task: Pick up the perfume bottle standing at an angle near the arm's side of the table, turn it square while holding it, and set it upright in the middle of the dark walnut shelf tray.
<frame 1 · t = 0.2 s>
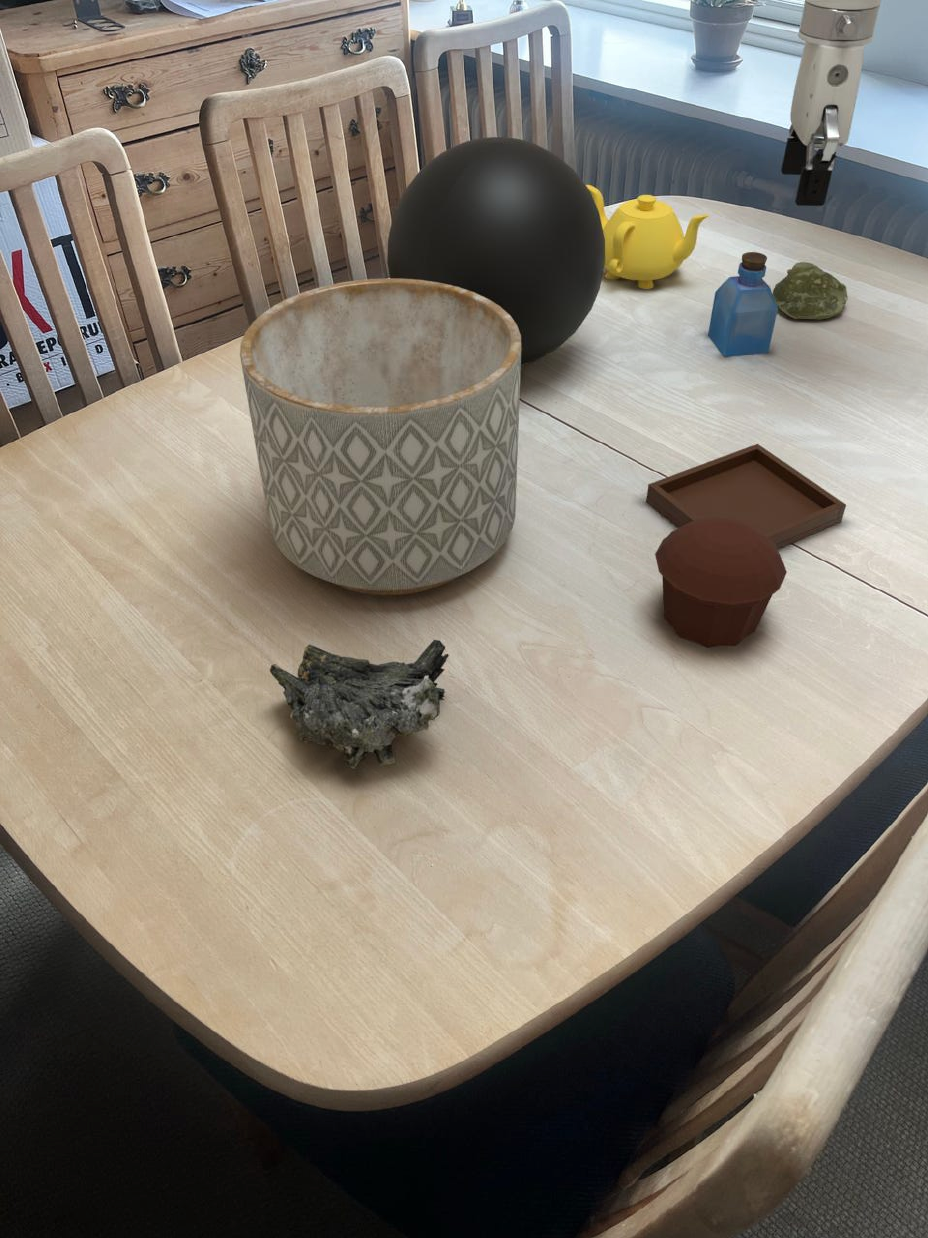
hand: (801, 188, 118), 22 cm above the table, tool pointing down, fingers open, 9 cm apart
muffin: (708, 617, 97), on the table
shelf tray: (742, 511, 109), on the table
ball: (494, 357, 135), on the table
planter: (394, 533, 107), on the table
teapot: (635, 277, 152), on the table
mineral specimen: (367, 719, 88), on the table
perfume bottle: (737, 344, 137), on the table
olive green rounded lump: (803, 305, 145), on the table
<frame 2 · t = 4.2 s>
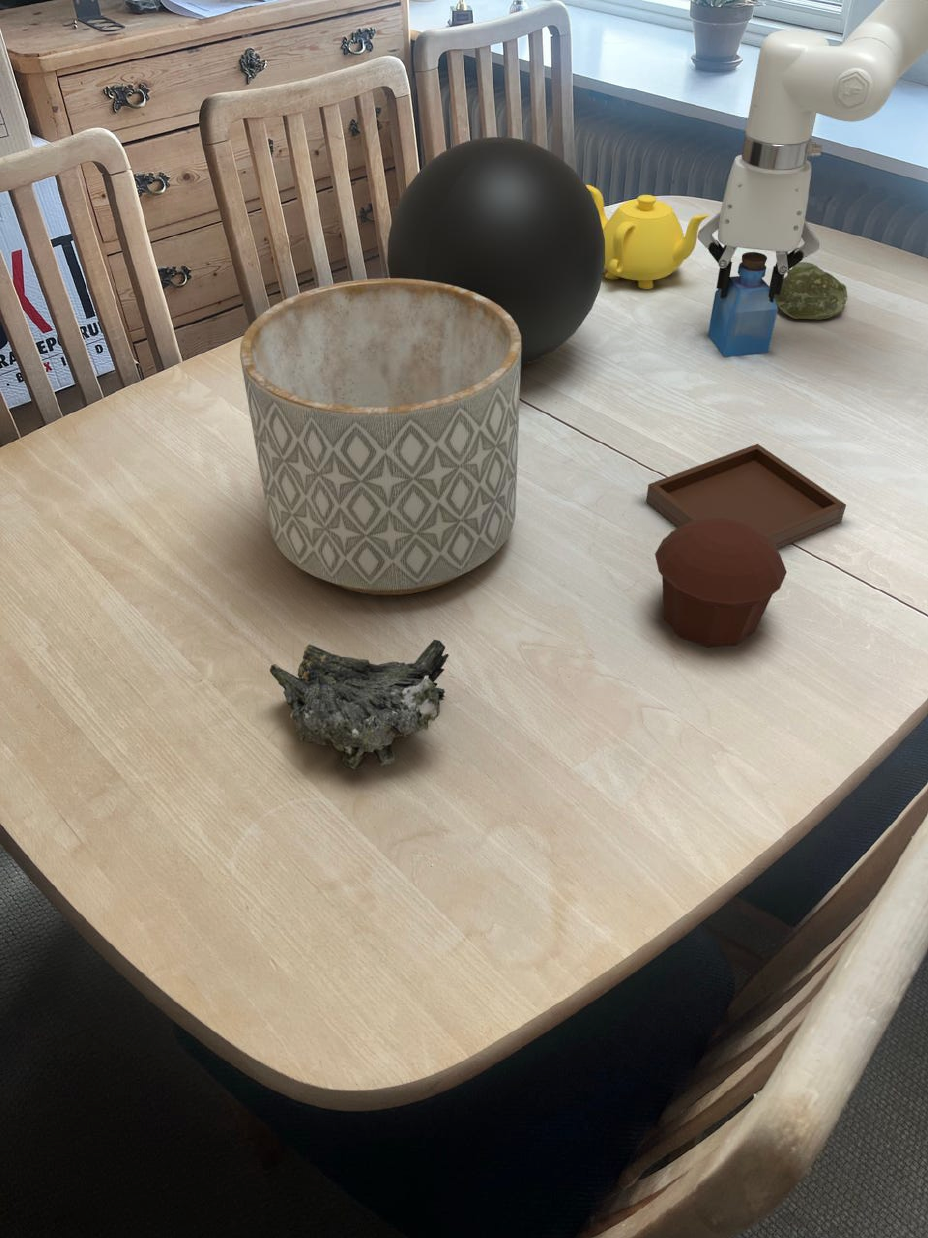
hand: (747, 294, 132), 7 cm above the table, tool pointing down, fingers closed on perfume bottle, 5 cm apart
perfume bottle: (737, 344, 137), on the table, touching gripper
everything else where it was.
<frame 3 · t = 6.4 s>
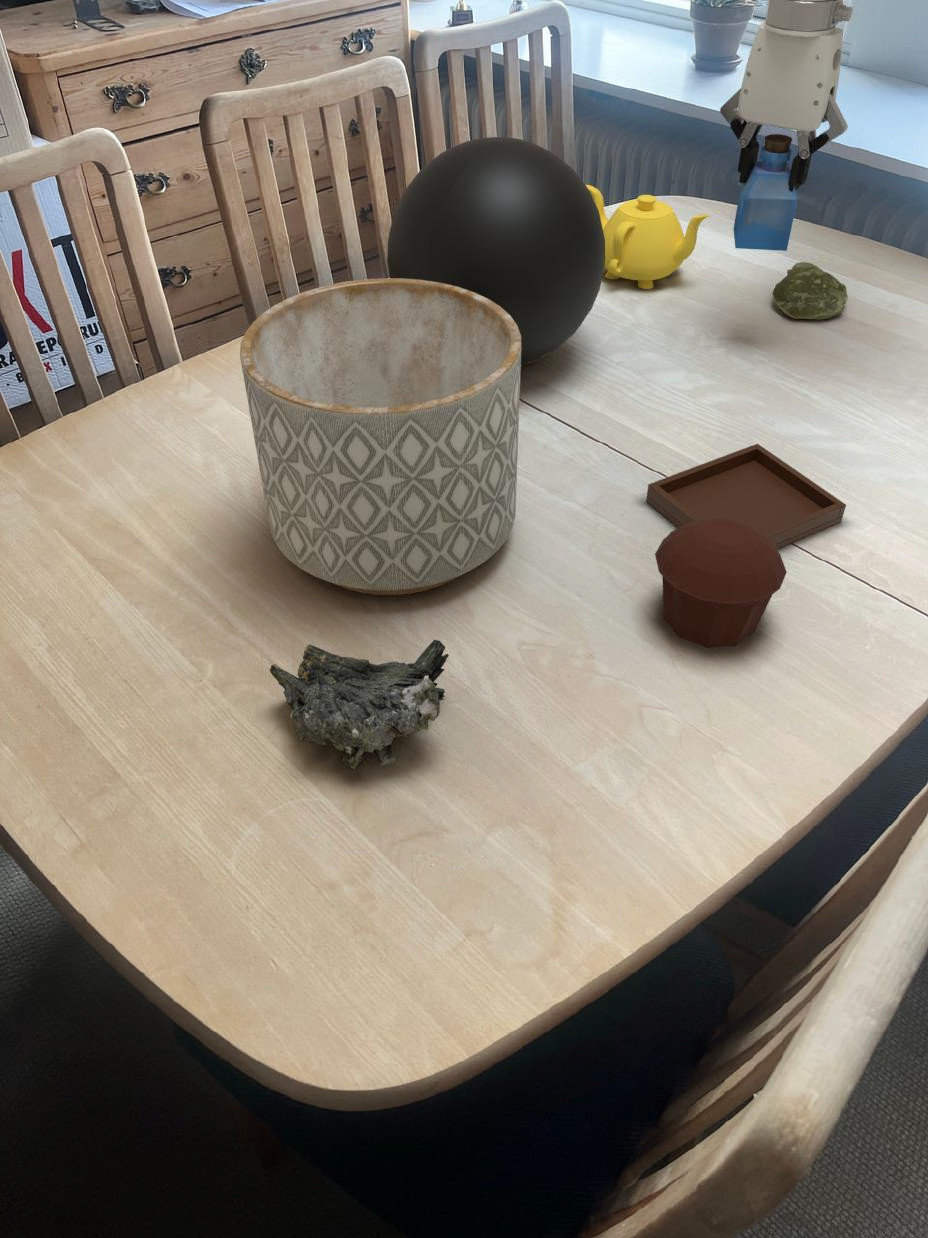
hand: (770, 182, 122), 21 cm above the table, tool pointing down, fingers closed on perfume bottle, 5 cm apart
perfume bottle: (759, 240, 127), point 14 cm above the table, touching gripper
everything else where it was.
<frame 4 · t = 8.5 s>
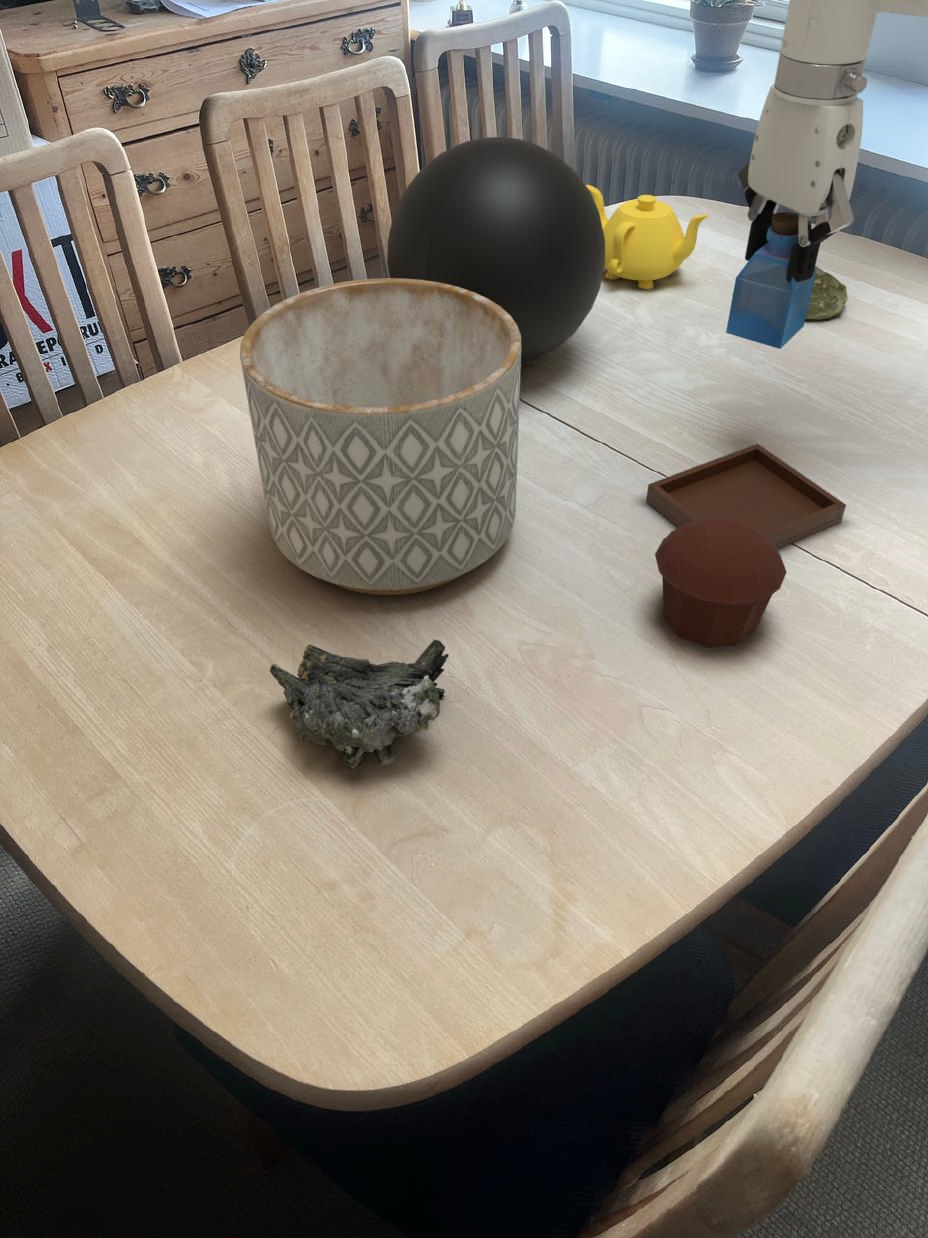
hand: (778, 267, 104), 21 cm above the table, tool pointing down, fingers closed on perfume bottle, 5 cm apart
perfume bottle: (764, 331, 109), point 14 cm above the table, touching gripper
everything else where it was.
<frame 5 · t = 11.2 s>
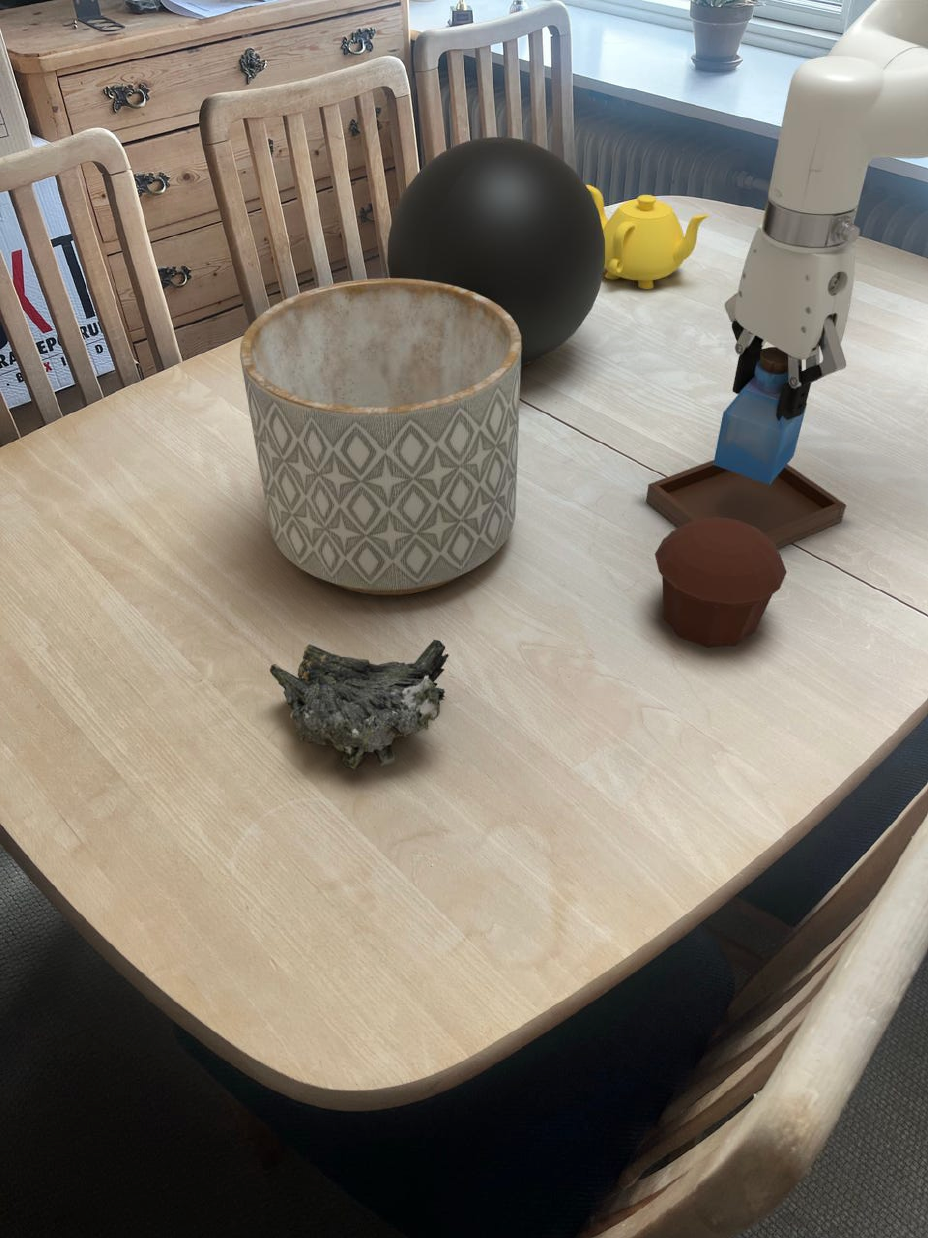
hand: (767, 401, 100), 14 cm above the table, tool pointing down, fingers closed on perfume bottle, 5 cm apart
perfume bottle: (753, 461, 105), point 6 cm above the table, touching gripper
everything else where it was.
when the fingers open (8 cm above the table, at t = 13.0 s): perfume bottle stays where it is, resting on shelf tray.
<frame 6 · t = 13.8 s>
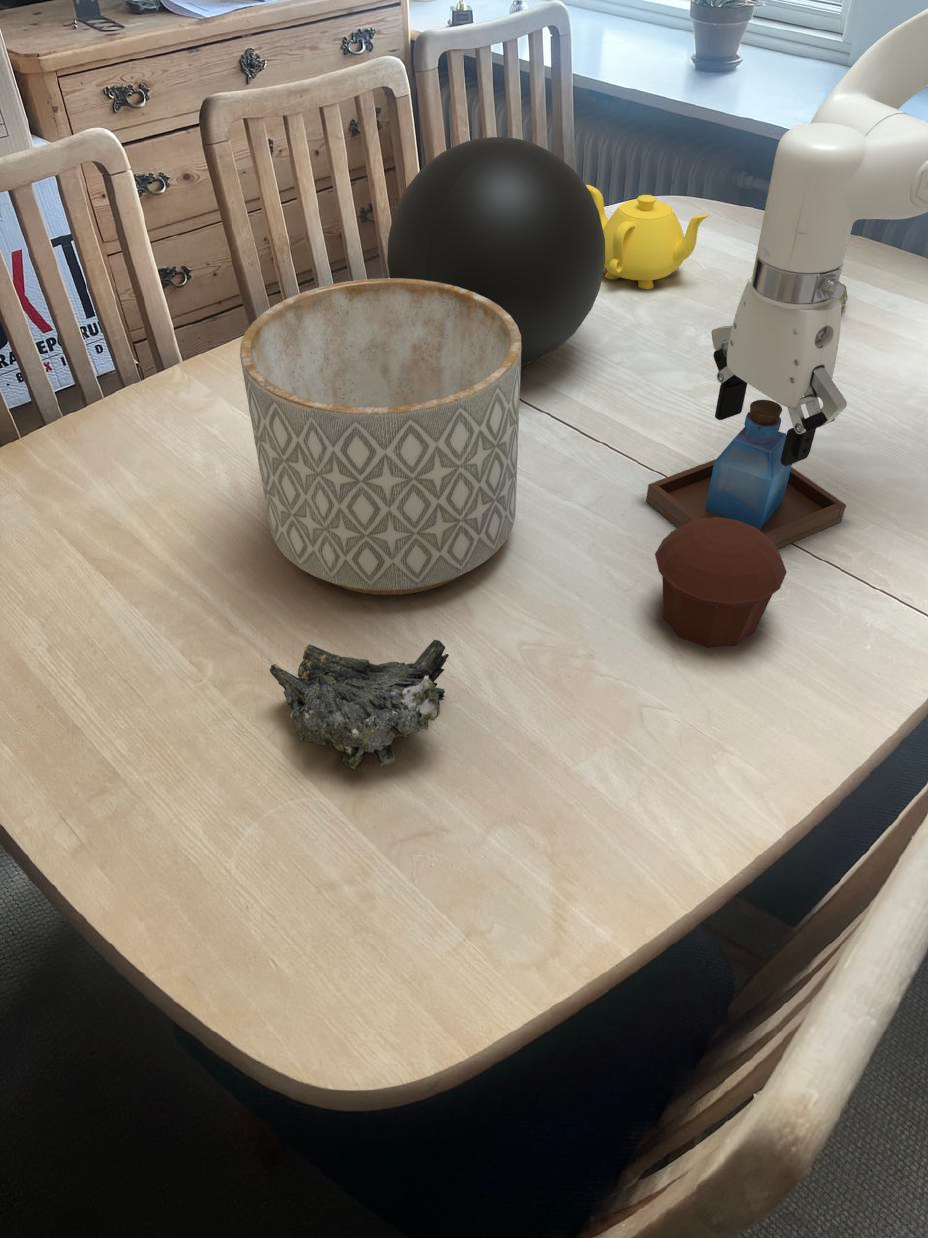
hand: (759, 437, 103), 9 cm above the table, tool pointing down, fingers open, 9 cm apart
perfume bottle: (743, 506, 109), point 1 cm above the table, touching shelf tray
everything else where it was.
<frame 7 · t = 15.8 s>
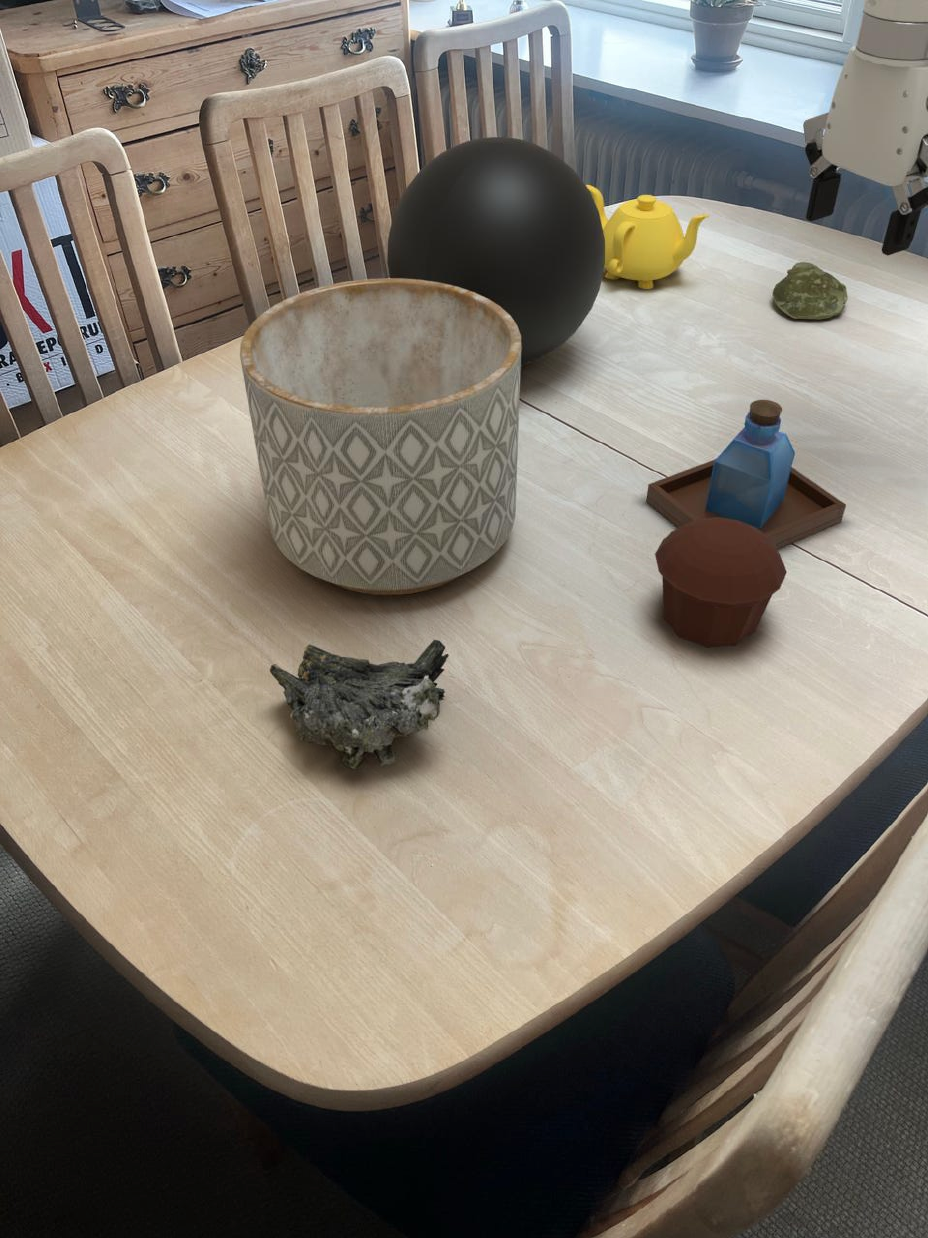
hand: (855, 233, 98), 26 cm above the table, tool pointing down, fingers open, 9 cm apart
nothing on the table moved.
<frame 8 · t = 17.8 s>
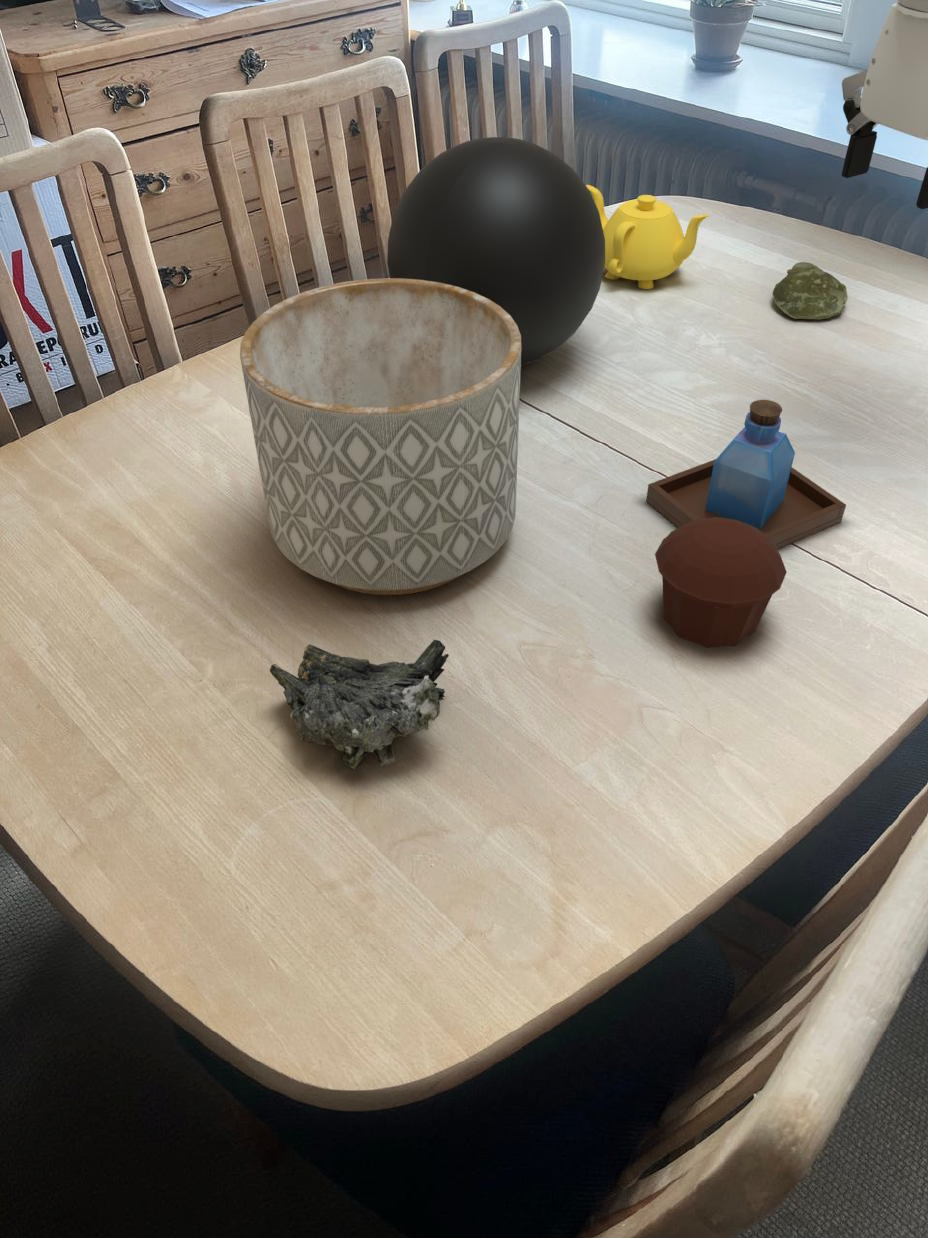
hand: (890, 189, 101), 28 cm above the table, tool pointing down, fingers open, 9 cm apart
nothing on the table moved.
at the end: perfume bottle 0.1 cm off-centre in the shelf tray, point 0.6 cm above the shelf tray's base; perfume bottle tilted 0°; the gripper is holding nothing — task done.
